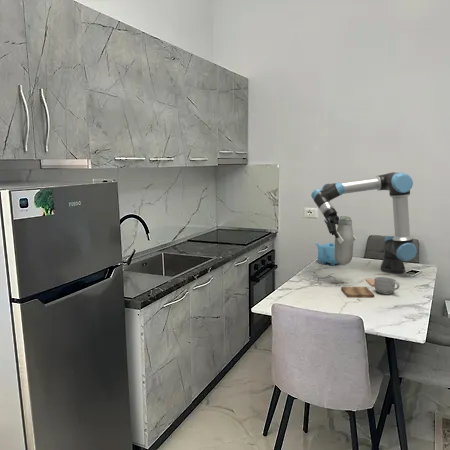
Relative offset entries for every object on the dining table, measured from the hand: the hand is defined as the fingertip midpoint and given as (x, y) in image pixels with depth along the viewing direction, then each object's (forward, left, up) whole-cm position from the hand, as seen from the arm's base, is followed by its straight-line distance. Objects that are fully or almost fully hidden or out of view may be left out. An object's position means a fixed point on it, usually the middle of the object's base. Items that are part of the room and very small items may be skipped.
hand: (348, 241), depth 236 cm
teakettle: (-2, -54, -26) cm, 60 cm away
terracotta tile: (-20, -3, -26) cm, 33 cm away
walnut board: (-2, +16, -26) cm, 30 cm away
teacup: (-18, +15, -26) cm, 35 cm away
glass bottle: (+2, -3, -14) cm, 15 cm away
